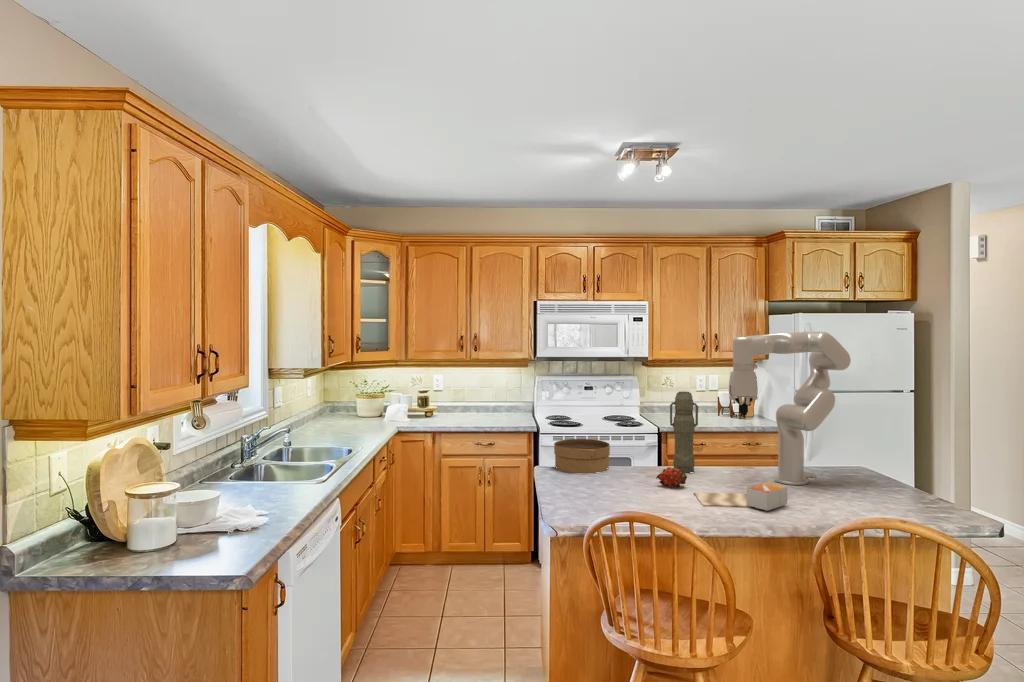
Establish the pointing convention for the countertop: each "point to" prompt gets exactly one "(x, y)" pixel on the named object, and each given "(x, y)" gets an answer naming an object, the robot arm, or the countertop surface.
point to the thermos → (684, 431)
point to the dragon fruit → (672, 477)
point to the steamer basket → (581, 455)
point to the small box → (766, 496)
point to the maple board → (722, 499)
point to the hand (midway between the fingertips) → (743, 414)
